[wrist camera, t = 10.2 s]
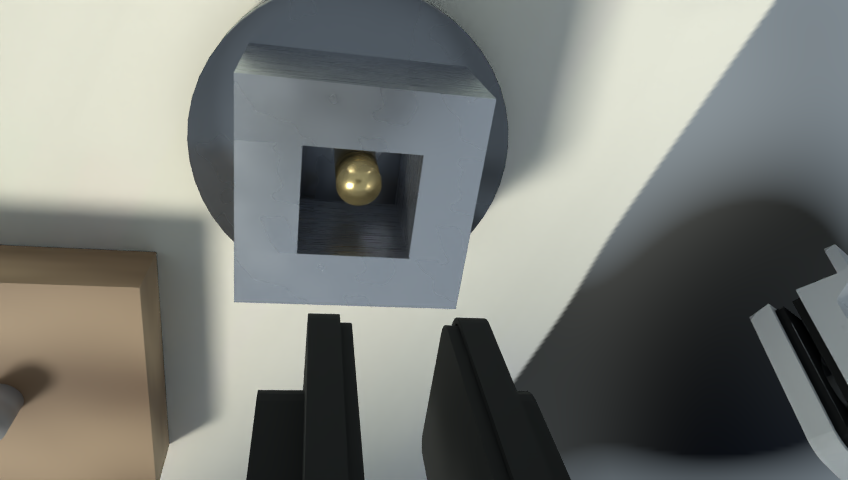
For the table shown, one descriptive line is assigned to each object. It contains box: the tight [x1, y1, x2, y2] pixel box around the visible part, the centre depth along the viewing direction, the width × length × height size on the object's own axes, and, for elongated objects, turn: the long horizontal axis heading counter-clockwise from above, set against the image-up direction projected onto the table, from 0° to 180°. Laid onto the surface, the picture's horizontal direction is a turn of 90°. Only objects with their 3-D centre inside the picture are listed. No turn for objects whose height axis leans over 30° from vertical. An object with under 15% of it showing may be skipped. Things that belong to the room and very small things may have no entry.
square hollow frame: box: [234, 43, 496, 309], centre depth 20 cm, size 7×7×4 cm
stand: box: [0, 245, 169, 480], centre depth 23 cm, size 10×10×4 cm
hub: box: [187, 0, 508, 241], centre depth 21 cm, size 11×11×4 cm
